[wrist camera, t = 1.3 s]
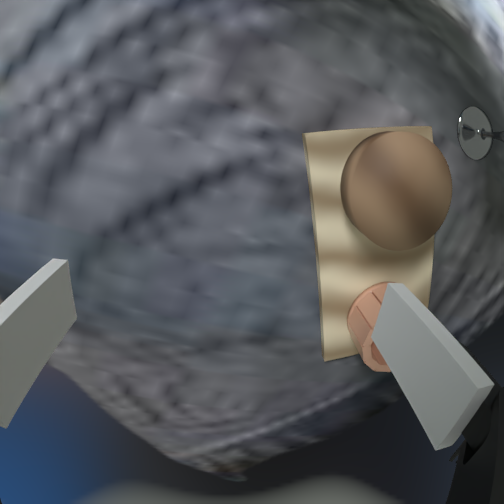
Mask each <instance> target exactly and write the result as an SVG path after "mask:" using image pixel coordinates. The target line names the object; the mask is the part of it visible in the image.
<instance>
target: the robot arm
mask: <svg viewBox="0 0 504 504" xmlns="http://www.w3.org/2000/svg"><path fill="white" fill-rule="evenodd" d="M76 319H77V316H76V310H75V305H74V299H73V293H72V287H71V280H70V273H69V265H68V260H62V259H52V260H51V261H49V262H48V263H47V264H46V265H45V266H43V267H42V268H41V269H40V270H39V271H38V272H36V273H35V274H34V275H33V276H32V277H31V278H29V279H28V280H27V281H26V282H25V283H24V284H23V285H21V286H20V287H19V288H18V289H17V290H16V291H15V292H14V293H13V294H12V295H10V296H9V297H8V298H7V299H6V300H5V301H4V302H3V303H2V304H1V305H0V426H1V427H4V428H7V427H8V425H9V423H10V421H11V419H12V418H13V416H14V414H15V412H16V411H17V409H18V407H19V406H20V404H21V402H22V401H23V399H24V397H25V395H26V394H27V392H28V390H29V389H30V387H31V386H32V384H33V383H34V381H35V379H36V377H37V376H38V375H39V373H40V371H41V370H42V368H43V367H44V365H45V364H46V362H47V361H48V359H49V358H50V356H51V355H52V353H53V352H54V350H55V349H56V347H57V346H58V344H59V343H60V341H61V340H62V339H63V337H64V336H65V334H66V333H67V331H68V330H69V329H70V327H71V326H72V324H73V323H74V322H75V320H76ZM371 338H372V340H373V341H374V343H375V345H376V346H377V348H378V350H379V351H380V353H381V355H382V356H383V358H384V360H385V361H386V363H387V365H388V366H389V368H390V370H391V371H392V373H393V375H394V377H395V378H396V380H397V382H398V383H399V385H400V387H401V389H402V390H403V392H404V394H405V396H406V397H407V399H408V401H409V403H410V405H411V406H412V408H413V410H414V412H415V413H416V415H417V417H418V419H419V420H420V423H421V424H422V426H423V428H424V430H425V432H426V434H427V435H428V437H429V439H430V441H431V443H432V445H433V447H434V448H435V450H439V449H442V448H445V447H448V446H451V445H453V444H454V442H455V441H456V440H457V438H458V437H459V436H460V435H461V433H462V434H463V436H464V437H465V440H464V442H463V443H462V444H461V445H460V447H459V448H458V449H457V450H456V452H455V453H454V454H453V455H452V457H451V458H450V460H449V461H453V460H454V458H455V457H456V456H458V455H459V456H458V460H457V461H456V463H457V465H456V469H455V473H454V477H453V480H452V484H451V488H450V491H449V495H448V498H447V501H446V504H504V387H501V386H500V385H499V384H498V383H497V381H496V380H495V379H494V378H493V377H492V375H491V374H490V373H489V372H488V371H487V370H486V368H485V367H484V366H483V365H482V364H480V361H479V360H478V359H477V358H475V357H474V355H473V354H472V352H471V351H470V350H469V349H468V348H467V347H466V346H464V345H463V344H462V343H460V342H459V341H457V340H456V339H455V338H454V337H453V336H452V335H451V333H450V332H449V331H448V330H447V329H446V328H445V327H444V326H443V325H442V324H441V323H440V321H439V320H438V319H437V318H436V317H435V316H434V315H433V314H432V313H431V312H430V311H429V310H428V309H427V308H426V307H425V306H424V305H423V304H422V303H421V302H420V300H419V299H418V298H417V297H416V296H415V295H414V294H413V293H412V292H411V291H410V290H409V289H408V288H407V287H406V286H405V285H404V284H403V283H388V284H387V288H386V291H385V295H384V298H383V301H382V305H381V308H380V311H379V314H378V318H377V321H376V324H375V327H374V330H373V333H372V336H371ZM0 504H2V503H1V500H0Z"/></svg>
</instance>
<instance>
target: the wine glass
mask: <svg viewBox="0 0 504 504" xmlns="http://www.w3.org/2000/svg"><path fill="white" fill-rule="evenodd" d="M457 133H458V139H459V143H460V146H461V148H462V150H463V151H464V153H465V154H466V155H467V156H468V157H470V158H471V159H474V160H481V159H483V158H485V157H486V156H487V155H488V153H489V152H490V150H491V148H492V144H493V139H497V140H500V141H503V142H504V131H501V132H493V129H492V125H491V122H490V120H489V118H488V116H487V115H486V114H485V112H484V111H483V110H481V109H480V108H478V107H473V106H471V107H468V108H466V109H465V110H464V111H463V112H462V113H461V115H460V117H459V120H458V126H457Z"/></svg>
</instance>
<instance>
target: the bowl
mask: <svg viewBox="0 0 504 504" xmlns="http://www.w3.org/2000/svg"><path fill="white" fill-rule="evenodd" d="M388 283H395V282H380V283H377V284H374V285H372V286H370V287H368V288H367V289H365V290H364V291H363V292H362V293H360V294H359V295H358V296H357V298H356V299H355V300H354V301H353V303H352V305H351V307H350V309H349V311H348V315H347V327H348V330H349V332H350V337H351V338H352V340H353V342H354V344H355V346H356V348H357V350H358V352H359V354H360V356H361V358H362V360H363V361H364V363H365V364H366V365H367V366H369V367H370V368H371V369H372V370H374V371H378V372H390V371H391V370H390V368H389V366H388V365H387V363H386V361H385V360H384V358H383V356H382V355H381V353H380V351H379V350H378V348H377V346H376V345H375V343H374V341H373V340H372V338H371V336H372V333H373V330H374V327H375V324H376V321H377V318H378V314H379V311H380V308H381V305H382V301H383V298H384V295H385V291H386V288H387V284H388Z"/></svg>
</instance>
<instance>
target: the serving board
mask: <svg viewBox="0 0 504 504" xmlns="http://www.w3.org/2000/svg"><path fill="white" fill-rule="evenodd" d="M385 131H397V132H411V133H416V134H419V135H421V136H423V137H425V138H427V139H428V140H430V141H431V142H432V143H433V137H432V126H405V127H377V128H359V129H345V130H333V131H322V132H312V133H302V137H303V145H304V152H305V159H306V167H307V175H308V184H309V192H310V201H311V210H312V220H313V230H314V241H315V252H316V264H317V276H318V290H319V306H320V323H321V343H322V356H323V359H324V361H329V360H334V359H338V358H343V357H347V356H351V355H355V354H359V352H358V350H357V348H356V346H355V344H354V342H353V340H352V338H351V337H350V332H349V330H348V327H347V315H348V311H349V309H350V307H351V305H352V303H353V301H354V300H355V299H356V298H357V296H358V295H359V294H360V293H362V292H363V291H364V290H365V289H367V288H368V287H370V286H372V285H374V284H377V283H380V282H395V283H403V284H404V285H405V286H406V287H407V288H408V289H409V290H410V291H411V292H412V293H413V294H414V295H415V296H416V297H417V298H418V299H419V300H420V302H421V303H422V304H423V305H424V306H425V307H426V308H427V309H428V303H429V295H430V286H431V276H432V265H433V251H434V235H433V236H432V237H431V238H430V239H429V240H427V241H426V242H425V243H423V244H421V245H420V246H417V247H415V248H412V249H409V250H403V251H393V250H388V249H385V248H382V247H380V246H378V245H376V244H375V243H373V242H372V241H371V240H369V239H368V238H367V237H366V236H365V235H363V234H362V233H361V232H360V231H359V230H358V229H357V228H356V227H355V226H354V225H353V224H352V223H351V221H350V220H349V218H348V217H347V215H346V213H345V210H344V208H343V204H342V201H341V194H340V183H341V176H342V171H343V168H344V165H345V163H346V161H347V159H348V157H349V155H350V154H351V152H352V151H353V149H354V148H355V147H356V146H357V145H358V144H359V143H360V142H361V141H362V140H364V139H366V138H367V137H369V136H371V135H373V134H376V133H379V132H385Z"/></svg>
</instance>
